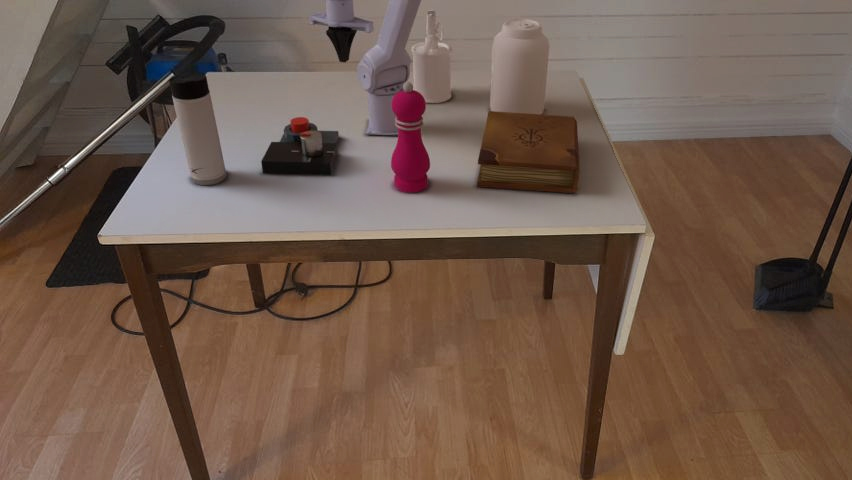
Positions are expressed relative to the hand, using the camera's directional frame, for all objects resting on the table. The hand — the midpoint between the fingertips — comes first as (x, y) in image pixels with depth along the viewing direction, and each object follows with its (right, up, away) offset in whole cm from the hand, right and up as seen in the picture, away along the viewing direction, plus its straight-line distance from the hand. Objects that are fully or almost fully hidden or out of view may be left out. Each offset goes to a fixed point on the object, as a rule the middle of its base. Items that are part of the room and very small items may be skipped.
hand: (344, 60), depth 156 cm
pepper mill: (+17, -31, -23) cm, 42 cm away
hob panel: (-5, -26, -18) cm, 32 cm away
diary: (+40, -25, -15) cm, 49 cm away
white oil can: (+19, -5, +12) cm, 23 cm away
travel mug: (-21, -29, -24) cm, 43 cm away
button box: (-5, -21, -11) cm, 24 cm away
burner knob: (-2, -24, -19) cm, 31 cm away
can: (+39, -10, +6) cm, 40 cm away
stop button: (-6, -18, -13) cm, 23 cm away
